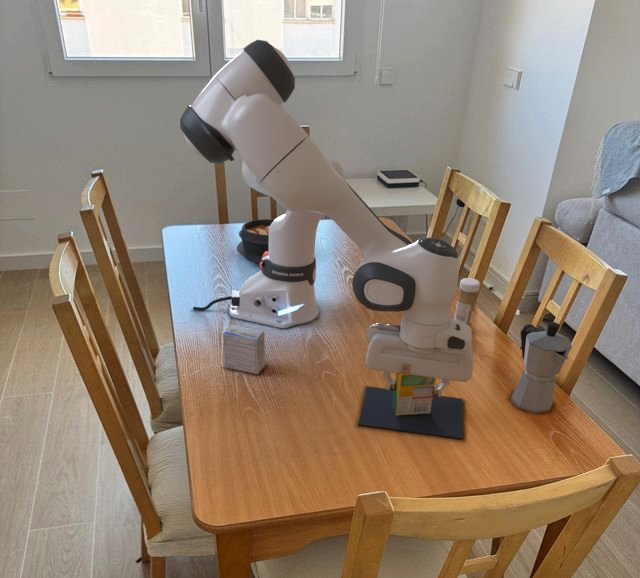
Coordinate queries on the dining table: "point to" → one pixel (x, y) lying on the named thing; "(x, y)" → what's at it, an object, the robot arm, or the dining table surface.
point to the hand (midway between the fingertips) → (413, 392)
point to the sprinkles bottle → (467, 300)
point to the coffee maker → (540, 366)
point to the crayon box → (412, 393)
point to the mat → (436, 423)
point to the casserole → (255, 239)
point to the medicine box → (244, 349)
